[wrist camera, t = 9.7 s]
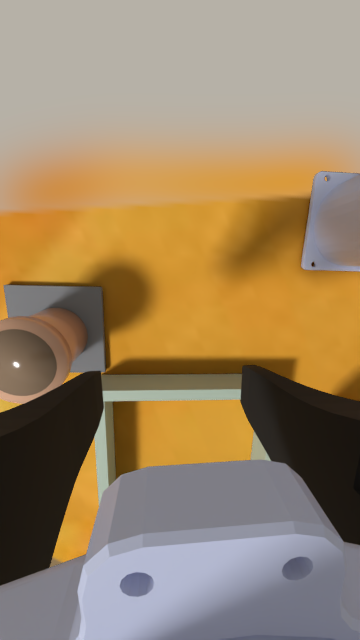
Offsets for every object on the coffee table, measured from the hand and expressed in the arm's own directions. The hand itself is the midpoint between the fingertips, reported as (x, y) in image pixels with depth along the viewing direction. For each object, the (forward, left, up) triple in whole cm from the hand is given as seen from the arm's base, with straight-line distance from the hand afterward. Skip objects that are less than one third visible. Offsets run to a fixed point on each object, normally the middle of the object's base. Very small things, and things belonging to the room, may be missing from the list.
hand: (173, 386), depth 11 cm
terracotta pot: (+10, 0, -10) cm, 14 cm away
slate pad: (+10, 0, -10) cm, 14 cm away
